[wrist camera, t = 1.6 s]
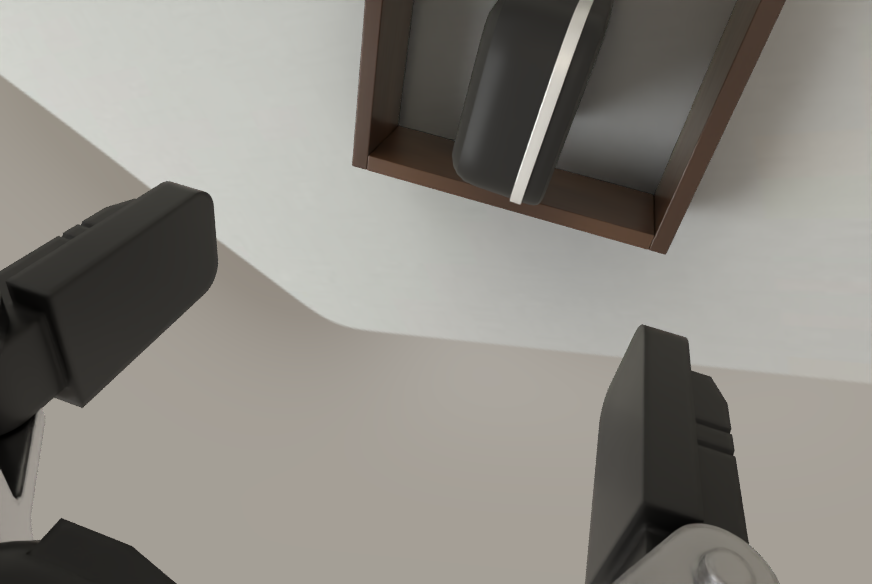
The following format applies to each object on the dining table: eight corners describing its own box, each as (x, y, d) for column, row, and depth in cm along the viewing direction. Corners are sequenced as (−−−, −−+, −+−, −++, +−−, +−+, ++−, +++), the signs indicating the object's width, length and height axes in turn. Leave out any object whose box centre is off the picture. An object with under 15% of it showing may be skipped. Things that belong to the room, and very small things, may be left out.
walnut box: (383, 135, 33) (351, 165, 30) (416, -171, 25) (378, -180, 21) (663, 212, 31) (665, 255, 27) (800, -95, 23) (829, -91, 19)
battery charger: (539, -54, 26) (481, -18, 17) (623, -29, 26) (610, 22, 17) (494, 100, 30) (430, 194, 21) (566, 123, 30) (532, 229, 21)
